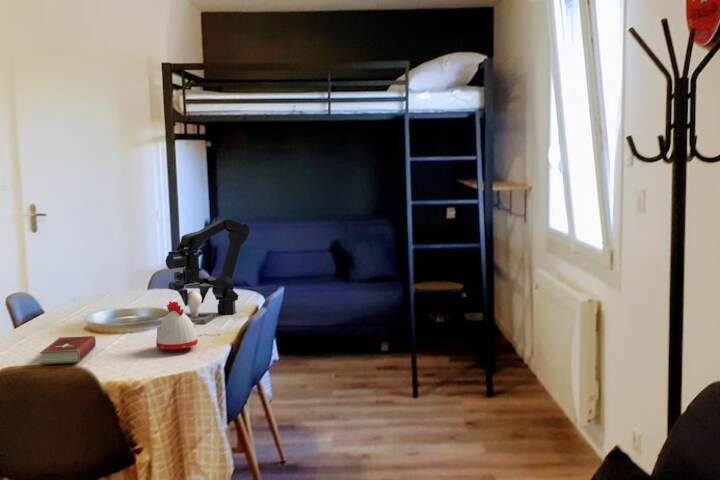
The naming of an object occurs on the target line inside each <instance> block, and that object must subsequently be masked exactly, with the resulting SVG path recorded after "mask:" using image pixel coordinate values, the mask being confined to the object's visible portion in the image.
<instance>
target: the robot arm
mask: <svg viewBox="0 0 720 480" xmlns="http://www.w3.org/2000/svg"><path fill="white" fill-rule="evenodd" d="M222 231H225V232H227V233H228V239H229V245H228V249H227V250H226V251H227V252H226V256H225V259H224V263H223V267H222V269H221V273H220V275H219V276H218V277H214V276H204V277H203V276H202V277H201V276H200V273H201V271H202V268H200V256H199V255H202V254H204V251H202V249H200V247H201V246H202V245H203V244H204V243H205V242H206V241H207V240H208V239H210V238H211V237H213V236H215V235H217V234H219V233H221V232H222ZM249 235H250V227H249V226H248V224H247V223H240V222H238V221H234V220H232V219H231V218H227V217H225V218H224V217H222V218H219V219H218V220H217V221H215V222H213V223H211V224H210V225H207V226H206V227H205V226H204V228H201V229H200V230H198V231H193V232H189V233H186V234H184V235H182V236H181V237H180V238H181V239H180V242H179V244H178V245H177V247H176V249H175V251H172V250H171V251H168V253H167V255H166V258H165V265H166V268H168V269H169V270H176V269H181V268H182V272H180V271H175V272H173V278H174V281H169V282H168V286H167V287H168V290H172V291H176V292H178V294H179V295H180V298H181V299H182V302H183V304H184V306H185V307H187V306H188V305H187V303H188V293H189V290H188V289H186V287H192V286H198V289H199V293H200V294H201V297H202V302H201V304H204V301H205V298H206V296H207V294H208V292H209V290H210V289H211V288H212V289H211V292H212V294H213V296H214V298H215V300H216V301H218V304H217V316H233V315H235V314H237V313H238V311H236V310H237V309H236V308H237V307H236V301H239V294H238V293H237V292H235V290H234V286H235V285H234V279H233V277H234V273H235V271H236V266H237V264H238V263H237V262H238V259H239V256H240V252H241V248H242V245H244V243H246V241H247V240H248V237H249Z"/></svg>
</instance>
